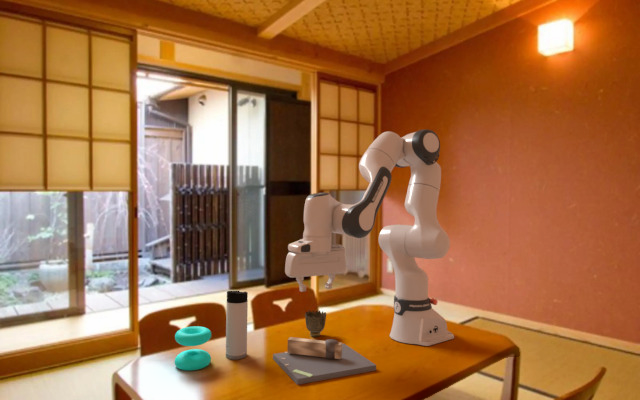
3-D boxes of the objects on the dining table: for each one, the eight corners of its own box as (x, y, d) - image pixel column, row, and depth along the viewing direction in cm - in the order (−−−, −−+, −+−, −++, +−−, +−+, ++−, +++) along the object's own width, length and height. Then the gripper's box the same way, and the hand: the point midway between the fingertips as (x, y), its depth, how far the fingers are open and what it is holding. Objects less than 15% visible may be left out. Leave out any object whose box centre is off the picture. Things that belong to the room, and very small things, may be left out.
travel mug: (221, 358, 132) (222, 291, 131) (232, 350, 138) (233, 286, 138) (239, 361, 130) (240, 293, 129) (250, 353, 136) (251, 288, 135)
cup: (323, 340, 149) (324, 316, 149) (302, 338, 151) (302, 315, 151) (327, 333, 157) (328, 310, 157) (307, 331, 158) (307, 309, 158)
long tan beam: (342, 355, 131) (342, 340, 130) (339, 359, 127) (340, 344, 127) (290, 349, 135) (290, 334, 134) (286, 353, 131) (287, 338, 131)
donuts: (194, 338, 119) (167, 332, 124) (193, 375, 120) (166, 367, 124) (218, 328, 128) (192, 323, 133) (218, 362, 129) (192, 356, 133)
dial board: (344, 348, 142) (344, 343, 142) (376, 370, 125) (376, 364, 125) (273, 359, 132) (273, 353, 132) (297, 385, 115) (297, 378, 114)
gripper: (339, 243, 145) (338, 285, 145) (283, 245, 134) (281, 290, 134) (350, 245, 139) (349, 289, 140) (293, 247, 129) (291, 295, 129)
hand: (315, 289), depth 137 cm, fingers open, 8 cm apart
